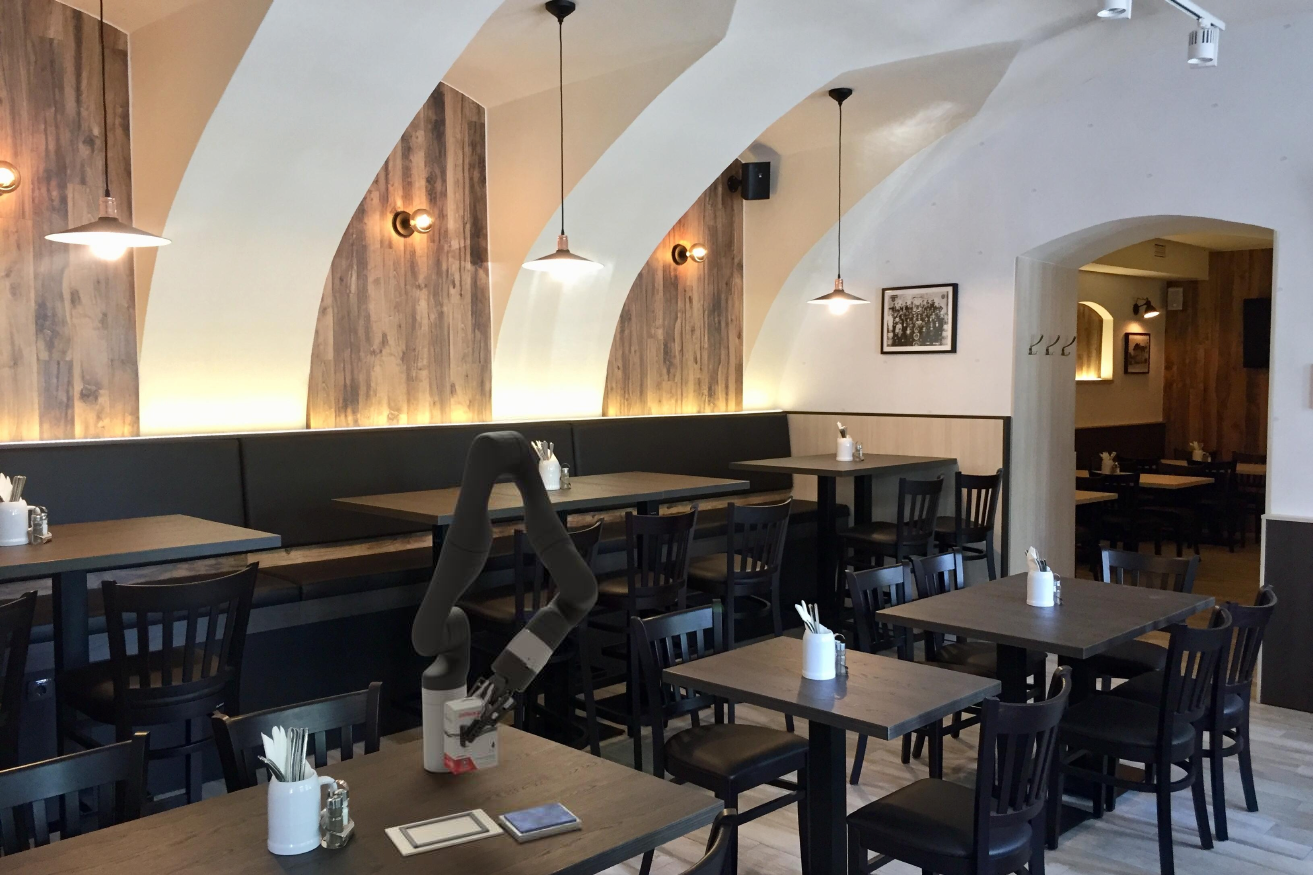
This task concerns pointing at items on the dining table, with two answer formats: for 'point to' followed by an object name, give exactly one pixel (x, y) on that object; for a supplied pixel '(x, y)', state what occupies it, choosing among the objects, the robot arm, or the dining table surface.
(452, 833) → the sheet
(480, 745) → the ink box
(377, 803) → the dining table surface
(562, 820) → the ink pad
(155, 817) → the dining table surface
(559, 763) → the dining table surface
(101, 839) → the dining table surface
